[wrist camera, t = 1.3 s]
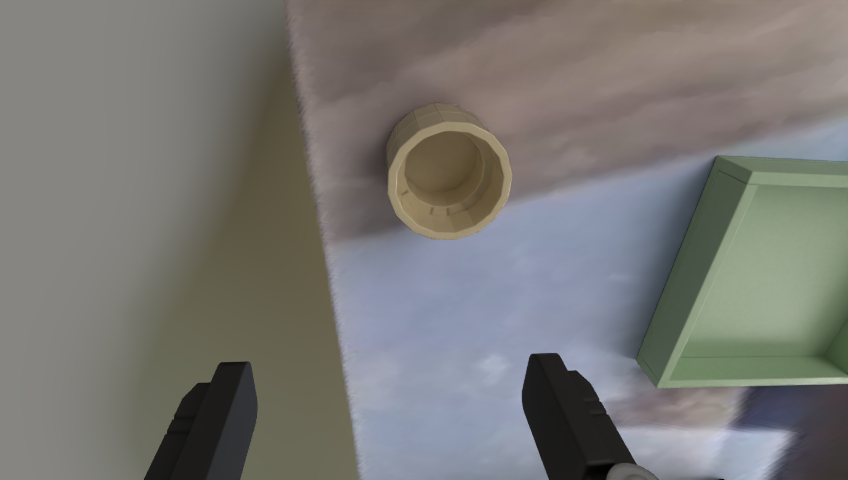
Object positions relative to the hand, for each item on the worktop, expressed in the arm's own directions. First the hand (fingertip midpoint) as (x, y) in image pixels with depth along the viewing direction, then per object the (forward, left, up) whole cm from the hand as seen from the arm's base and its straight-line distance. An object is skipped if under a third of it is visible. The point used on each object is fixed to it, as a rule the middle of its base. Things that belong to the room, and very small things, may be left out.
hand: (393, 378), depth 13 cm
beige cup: (-2, +3, -16) cm, 17 cm away
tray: (+6, +30, -16) cm, 35 cm away
